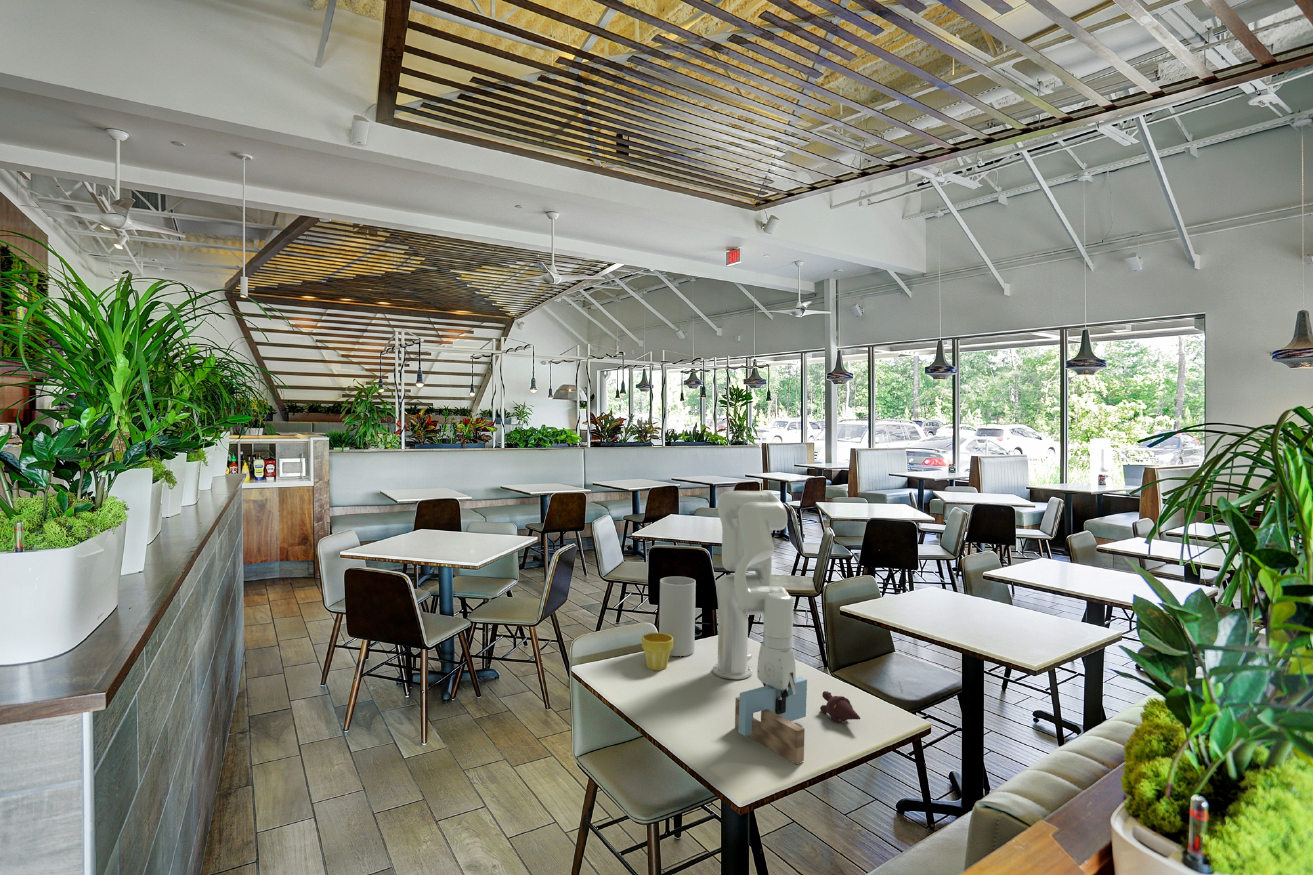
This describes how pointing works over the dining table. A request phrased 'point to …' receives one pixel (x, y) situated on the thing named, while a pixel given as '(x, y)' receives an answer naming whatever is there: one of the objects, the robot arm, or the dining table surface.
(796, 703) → the slotted plate
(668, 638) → the plant pot
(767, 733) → the walnut board
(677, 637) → the cylinder vase
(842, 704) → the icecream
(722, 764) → the dining table surface
